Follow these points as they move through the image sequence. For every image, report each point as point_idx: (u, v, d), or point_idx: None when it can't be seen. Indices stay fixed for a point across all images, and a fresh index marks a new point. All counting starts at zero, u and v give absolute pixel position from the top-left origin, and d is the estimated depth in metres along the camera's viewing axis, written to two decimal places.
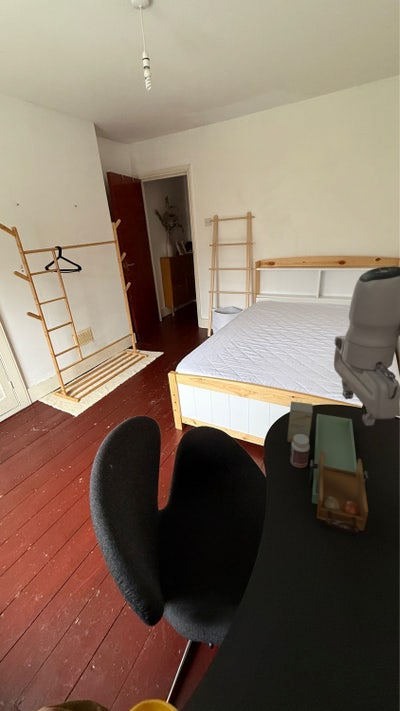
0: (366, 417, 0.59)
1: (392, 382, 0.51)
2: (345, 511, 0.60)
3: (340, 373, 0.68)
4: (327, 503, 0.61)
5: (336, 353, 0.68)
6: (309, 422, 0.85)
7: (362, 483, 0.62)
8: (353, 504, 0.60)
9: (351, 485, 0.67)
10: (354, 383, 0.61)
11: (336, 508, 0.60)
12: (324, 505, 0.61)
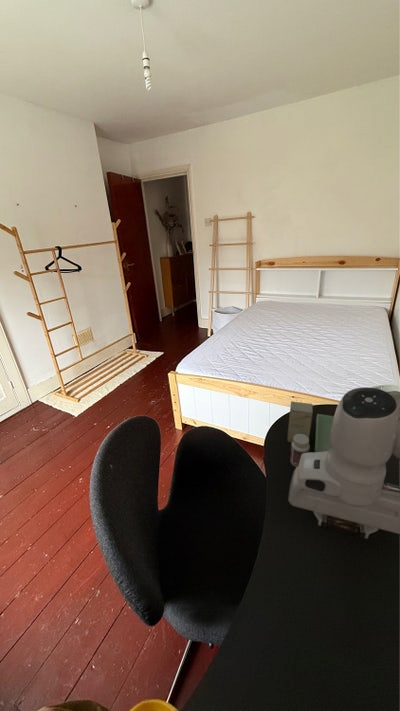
0: (369, 532, 0.54)
1: None
2: None
3: (310, 507, 0.55)
4: None
5: (298, 491, 0.54)
6: (309, 422, 0.85)
7: None
8: None
9: None
10: (350, 513, 0.52)
11: None
12: None
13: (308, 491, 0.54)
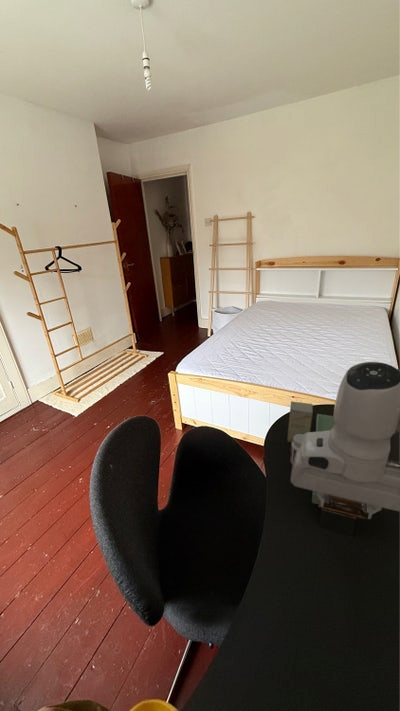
0: (372, 512, 0.53)
1: None
2: None
3: (313, 487, 0.54)
4: None
5: (301, 470, 0.53)
6: (309, 422, 0.85)
7: None
8: None
9: None
10: (354, 492, 0.51)
11: None
12: None
13: (311, 470, 0.53)
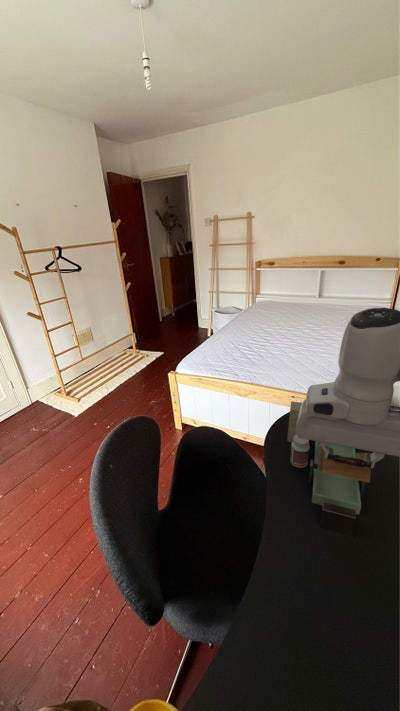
0: (375, 461, 0.54)
1: None
2: None
3: (317, 437, 0.56)
4: None
5: (306, 420, 0.54)
6: None
7: (362, 453, 0.65)
8: None
9: None
10: (357, 439, 0.53)
11: None
12: None
13: (316, 420, 0.55)
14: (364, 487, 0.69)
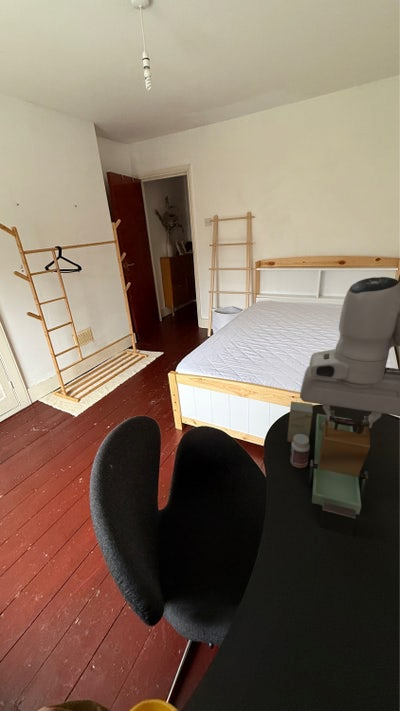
0: (373, 420, 0.60)
1: None
2: None
3: (320, 400, 0.61)
4: None
5: (309, 383, 0.60)
6: (309, 422, 0.85)
7: None
8: None
9: None
10: (356, 400, 0.58)
11: None
12: None
13: (318, 383, 0.60)
14: (364, 487, 0.69)
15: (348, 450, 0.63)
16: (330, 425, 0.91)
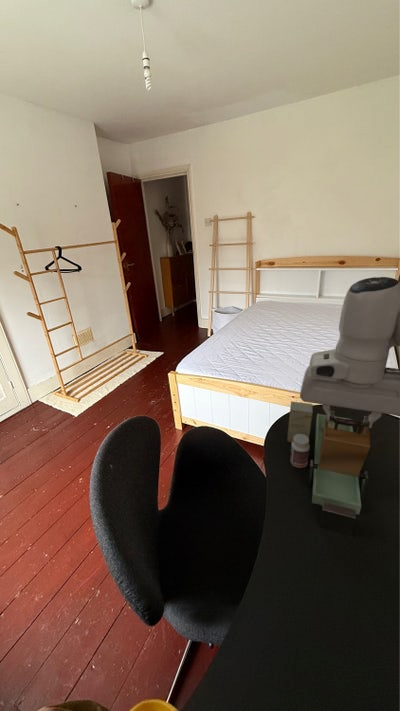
0: (373, 420, 0.60)
1: None
2: None
3: (320, 400, 0.61)
4: None
5: (309, 383, 0.60)
6: (309, 422, 0.85)
7: None
8: None
9: None
10: (356, 400, 0.58)
11: None
12: (323, 424, 0.92)
13: (318, 383, 0.60)
14: (364, 487, 0.69)
15: (348, 450, 0.63)
16: None
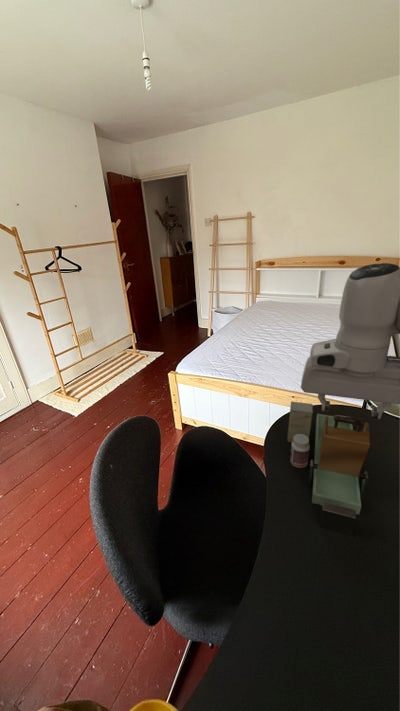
0: (382, 411, 0.58)
1: None
2: None
3: (321, 390, 0.60)
4: None
5: (310, 373, 0.59)
6: (309, 422, 0.85)
7: None
8: None
9: None
10: (358, 389, 0.57)
11: None
12: None
13: (319, 373, 0.59)
14: (364, 487, 0.69)
15: (348, 448, 0.64)
16: None
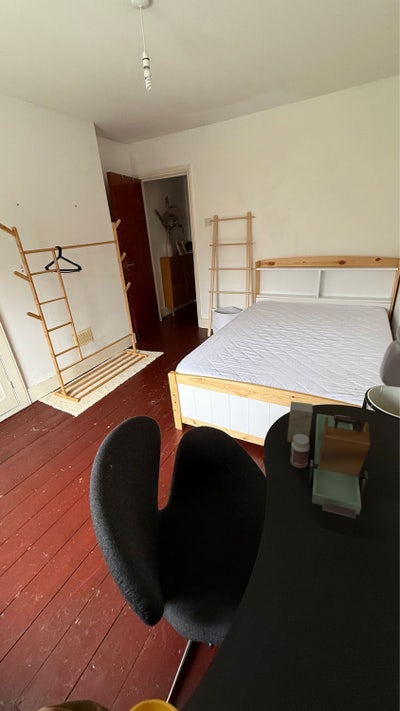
0: None
1: None
2: None
3: None
4: None
5: (399, 362, 0.48)
6: (309, 422, 0.85)
7: None
8: None
9: None
10: None
11: None
12: None
13: None
14: (364, 487, 0.69)
15: (348, 448, 0.64)
16: None
